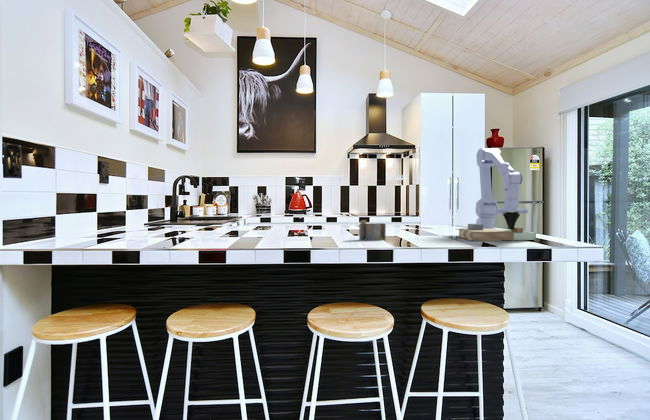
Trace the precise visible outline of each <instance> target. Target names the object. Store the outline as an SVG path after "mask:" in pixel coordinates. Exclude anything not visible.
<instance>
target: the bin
mask: <svg viewBox="0 0 650 420" xmlns="http://www.w3.org/2000/svg"><path fill="white" fill-rule="evenodd" d="M505 230H506V231H511V229H505ZM514 240H534V241H533V242H536V241H537V233H536V232H533V231H532V232H531V231H525V230H523V233H514Z"/></svg>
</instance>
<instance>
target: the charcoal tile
mask: <svg viewBox="0 0 650 420" xmlns="http://www.w3.org/2000/svg"><path fill="white" fill-rule="evenodd" d="M467 229H471V230H483V224H476V223H467Z"/></svg>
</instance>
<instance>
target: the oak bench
mask: <svg viewBox="0 0 650 420" xmlns="http://www.w3.org/2000/svg"><path fill="white" fill-rule="evenodd" d="M506 230H507V229H500V228H494V229H483V230H471V229H468V228H459V229H458V238H461V237H462V239H465V238H466V239H465V240H469V241H472V240H473V242H482V241H483V242H502V241H501V240H514V232H512V231H506Z"/></svg>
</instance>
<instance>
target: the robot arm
mask: <svg viewBox="0 0 650 420" xmlns="http://www.w3.org/2000/svg"><path fill="white" fill-rule="evenodd" d="M476 165H477V166H478V167H479V168H478V170H479V182H480V198H479V199H478V200H476V201H477V202H476V203H475V214H476V216H477V217H478V218H477V219H476V222H475V224H483V229H495V223H496V222H495V219H496V218H497V216H498V215H499V214H502V216H503V217H504V219H505V222H506V225H507V230H511V229H514V227H516V223H517V221H518V219H519V218H520V216H521V214H529V208H519V207H520V204H519V203H520V185H521V184H522V183H523V175H522V173H521V172H520V171H519V172H518V171H515V169H514V168H513V167H512V166H511V164H510V163H509V162H506V161H504V159H503V157H502V151H501V150H500V149H499V148H498V147H496V148H482V147H480V148H479V149H478V150H477V152H476ZM493 166H496V167H497V168H496V171H497V172H498V174H499V175H500V177H501V178H502V179H501V180H502V184H503V189H504V205H503V206H504V207H503V208H500V207H499V205H498V201H497V200H496V199H494V197H493V192H492V190H493V189H492V177H491V175H492V174H491V168H492V167H493Z"/></svg>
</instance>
